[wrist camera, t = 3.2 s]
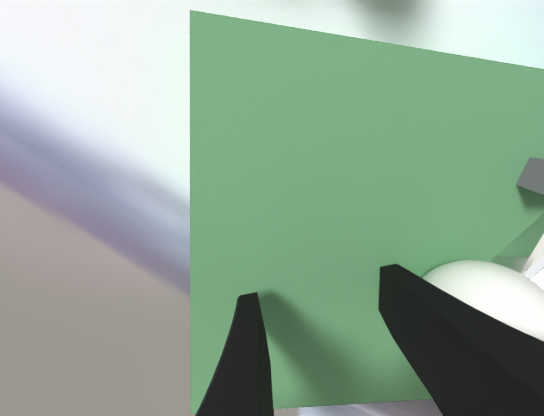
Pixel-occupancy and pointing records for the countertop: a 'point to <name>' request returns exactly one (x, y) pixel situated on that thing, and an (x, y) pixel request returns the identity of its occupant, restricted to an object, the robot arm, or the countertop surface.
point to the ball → (494, 292)
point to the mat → (346, 193)
